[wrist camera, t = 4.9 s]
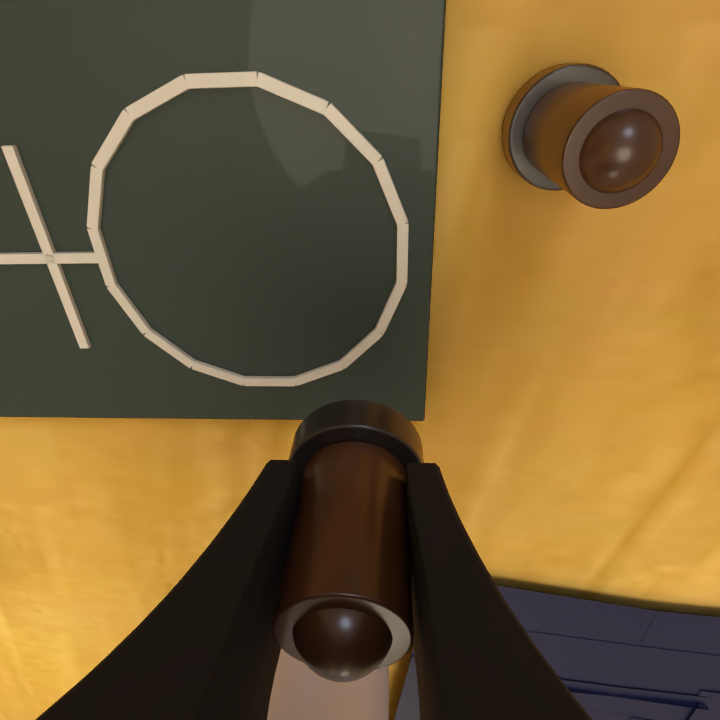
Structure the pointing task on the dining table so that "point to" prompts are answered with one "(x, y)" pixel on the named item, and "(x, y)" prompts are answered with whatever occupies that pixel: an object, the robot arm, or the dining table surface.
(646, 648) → the dark blue flat slab
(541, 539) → the dining table surface
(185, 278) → the slate board
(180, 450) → the dining table surface
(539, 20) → the dining table surface
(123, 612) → the dining table surface
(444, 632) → the robot arm
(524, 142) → the stamp
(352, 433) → the stamp
